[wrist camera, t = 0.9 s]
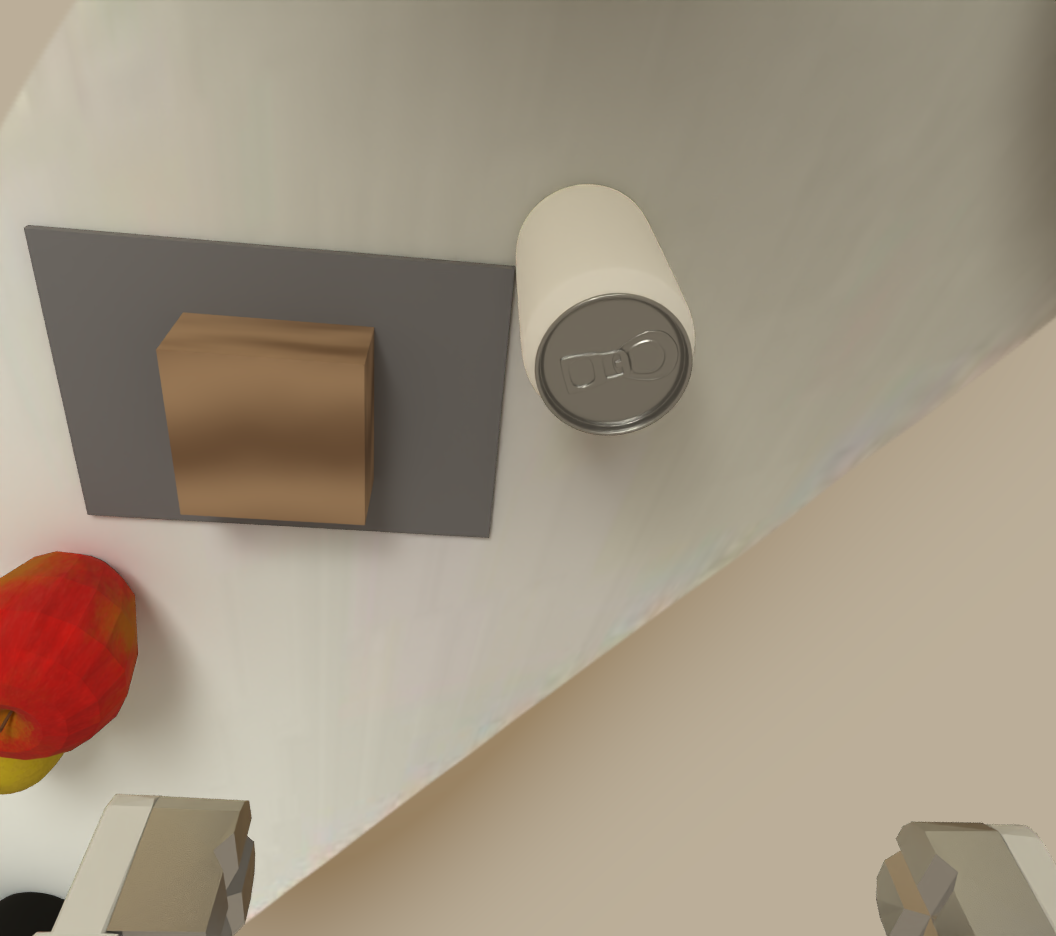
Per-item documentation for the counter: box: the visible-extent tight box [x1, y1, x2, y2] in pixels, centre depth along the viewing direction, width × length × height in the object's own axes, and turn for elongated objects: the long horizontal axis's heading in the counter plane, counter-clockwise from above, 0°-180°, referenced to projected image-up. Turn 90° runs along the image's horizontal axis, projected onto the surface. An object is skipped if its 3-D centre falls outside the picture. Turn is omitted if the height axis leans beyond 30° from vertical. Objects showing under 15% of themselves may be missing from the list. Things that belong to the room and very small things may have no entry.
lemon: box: [0, 753, 63, 794], centre depth 52 cm, size 6×6×8 cm
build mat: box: [24, 225, 515, 538], centre depth 44 cm, size 16×22×1 cm
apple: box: [0, 551, 138, 760], centre depth 46 cm, size 9×9×12 cm
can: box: [516, 184, 695, 435], centre depth 36 cm, size 6×6×12 cm
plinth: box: [156, 312, 374, 525], centre depth 43 cm, size 9×9×4 cm
